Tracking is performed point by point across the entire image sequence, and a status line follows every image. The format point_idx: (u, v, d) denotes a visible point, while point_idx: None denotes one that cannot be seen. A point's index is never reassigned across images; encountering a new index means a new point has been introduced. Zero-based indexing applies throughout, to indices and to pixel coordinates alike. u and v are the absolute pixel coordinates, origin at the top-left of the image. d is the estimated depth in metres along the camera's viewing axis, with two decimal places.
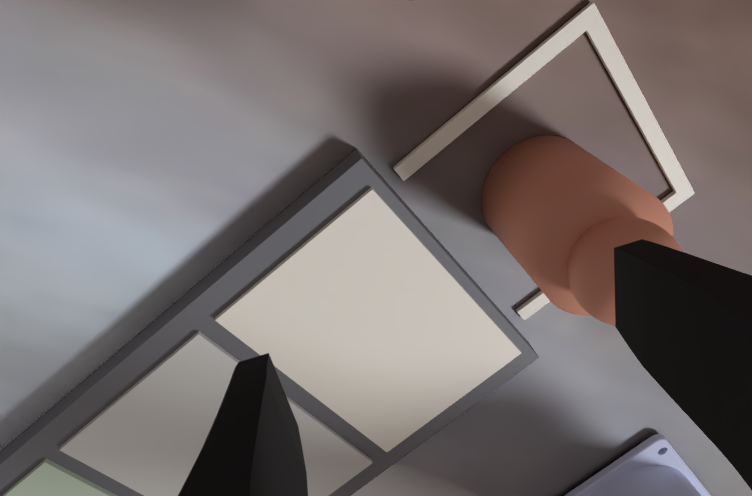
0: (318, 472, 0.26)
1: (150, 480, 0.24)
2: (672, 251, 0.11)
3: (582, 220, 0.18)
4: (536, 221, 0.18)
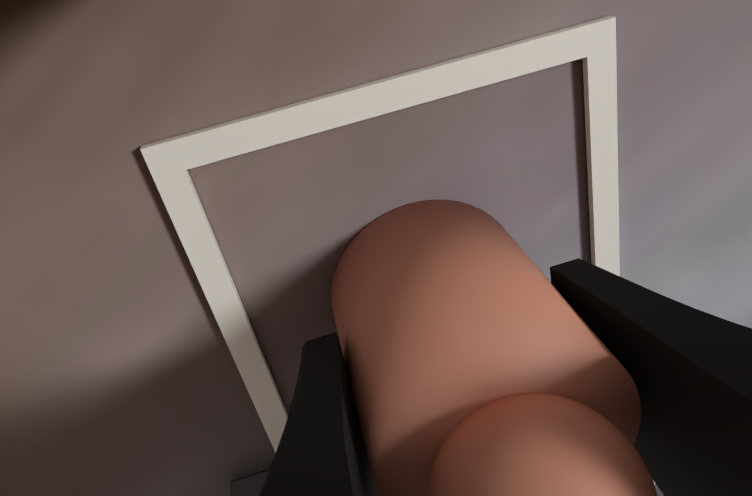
0: None
1: None
2: (603, 272, 0.11)
3: (411, 486, 0.09)
4: None
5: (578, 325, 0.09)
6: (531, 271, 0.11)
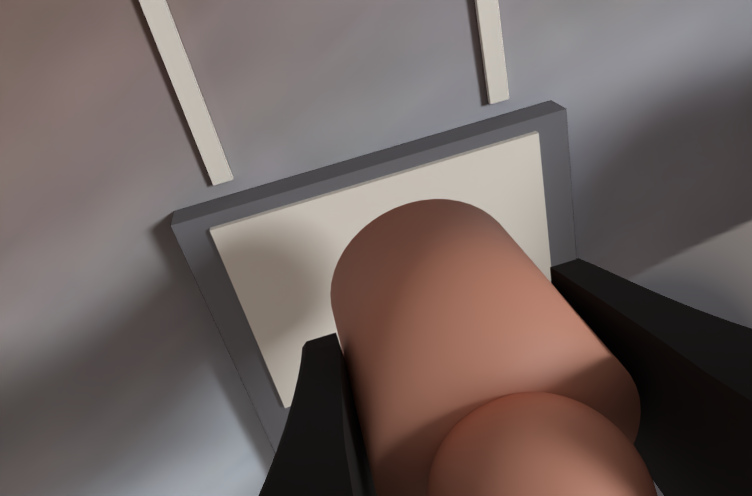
0: None
1: None
2: (603, 272, 0.11)
3: (410, 485, 0.09)
4: None
5: (578, 324, 0.09)
6: (531, 270, 0.11)
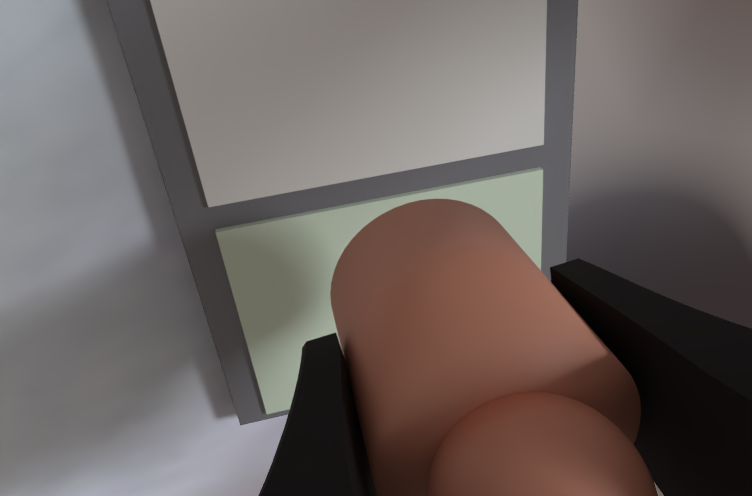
0: None
1: (328, 158, 0.17)
2: (603, 272, 0.11)
3: (410, 485, 0.09)
4: None
5: (578, 324, 0.09)
6: (531, 270, 0.11)
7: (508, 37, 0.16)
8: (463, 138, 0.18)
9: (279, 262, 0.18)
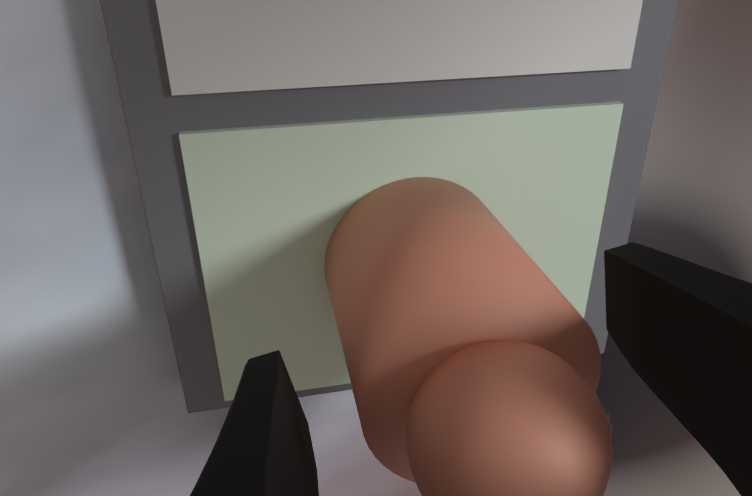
0: None
1: (348, 45, 0.12)
2: (660, 254, 0.11)
3: (393, 426, 0.10)
4: None
5: (543, 281, 0.10)
6: (505, 237, 0.12)
7: None
8: (530, 43, 0.13)
9: (264, 190, 0.13)
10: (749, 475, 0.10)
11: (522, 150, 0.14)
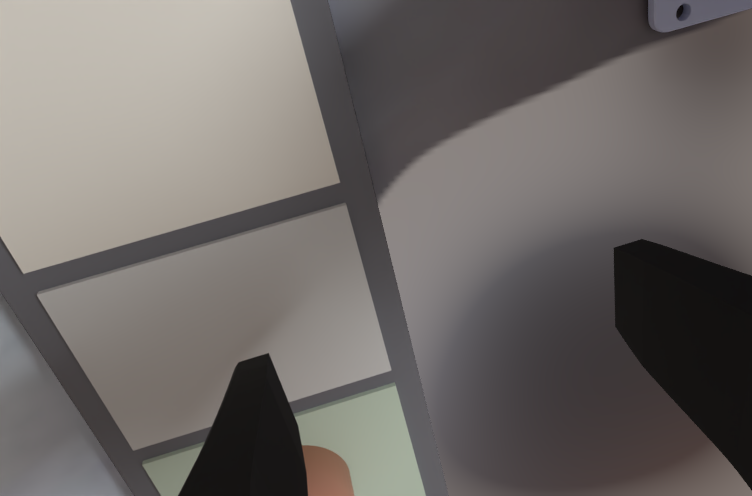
0: (319, 266, 0.20)
1: (219, 406, 0.22)
2: (672, 251, 0.11)
3: None
4: None
5: None
6: None
7: (343, 311, 0.21)
8: (324, 377, 0.22)
9: None
10: None
11: (342, 421, 0.24)
